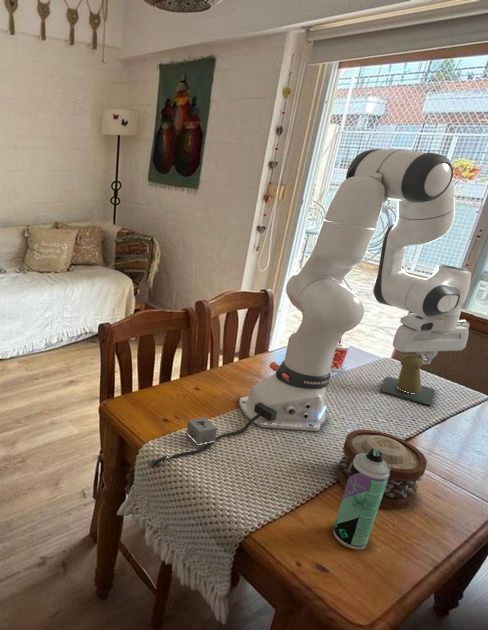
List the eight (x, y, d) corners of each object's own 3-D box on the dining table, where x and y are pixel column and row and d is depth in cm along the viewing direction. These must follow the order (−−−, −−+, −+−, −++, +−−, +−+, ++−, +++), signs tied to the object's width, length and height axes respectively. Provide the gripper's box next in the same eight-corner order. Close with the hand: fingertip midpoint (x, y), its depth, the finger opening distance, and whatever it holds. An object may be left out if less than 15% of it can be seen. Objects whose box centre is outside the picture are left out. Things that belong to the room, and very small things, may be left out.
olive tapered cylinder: (410, 396, 130) (413, 364, 126) (391, 386, 136) (393, 355, 132) (426, 389, 131) (430, 357, 127) (407, 380, 137) (410, 349, 133)
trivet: (429, 406, 126) (430, 404, 126) (380, 392, 134) (380, 390, 134) (433, 390, 135) (433, 388, 135) (386, 377, 142) (387, 376, 142)
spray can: (354, 525, 86) (380, 441, 79) (373, 549, 81) (402, 461, 74) (327, 526, 86) (350, 442, 79) (344, 550, 81) (371, 462, 74)
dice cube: (202, 433, 114) (205, 417, 113) (214, 444, 110) (216, 428, 108) (186, 436, 113) (188, 420, 111) (197, 448, 108) (199, 431, 107)
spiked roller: (450, 468, 86) (374, 467, 86) (434, 510, 90) (361, 510, 90) (398, 423, 100) (332, 423, 100) (385, 462, 104) (322, 462, 104)
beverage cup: (318, 365, 150) (327, 327, 145) (332, 363, 152) (341, 325, 147) (333, 373, 145) (343, 334, 140) (348, 371, 146) (358, 332, 141)
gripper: (460, 315, 130) (446, 357, 135) (395, 317, 128) (383, 359, 133) (481, 323, 124) (465, 367, 129) (413, 325, 122) (399, 369, 127)
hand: (422, 363), depth 131 cm, fingers closed
